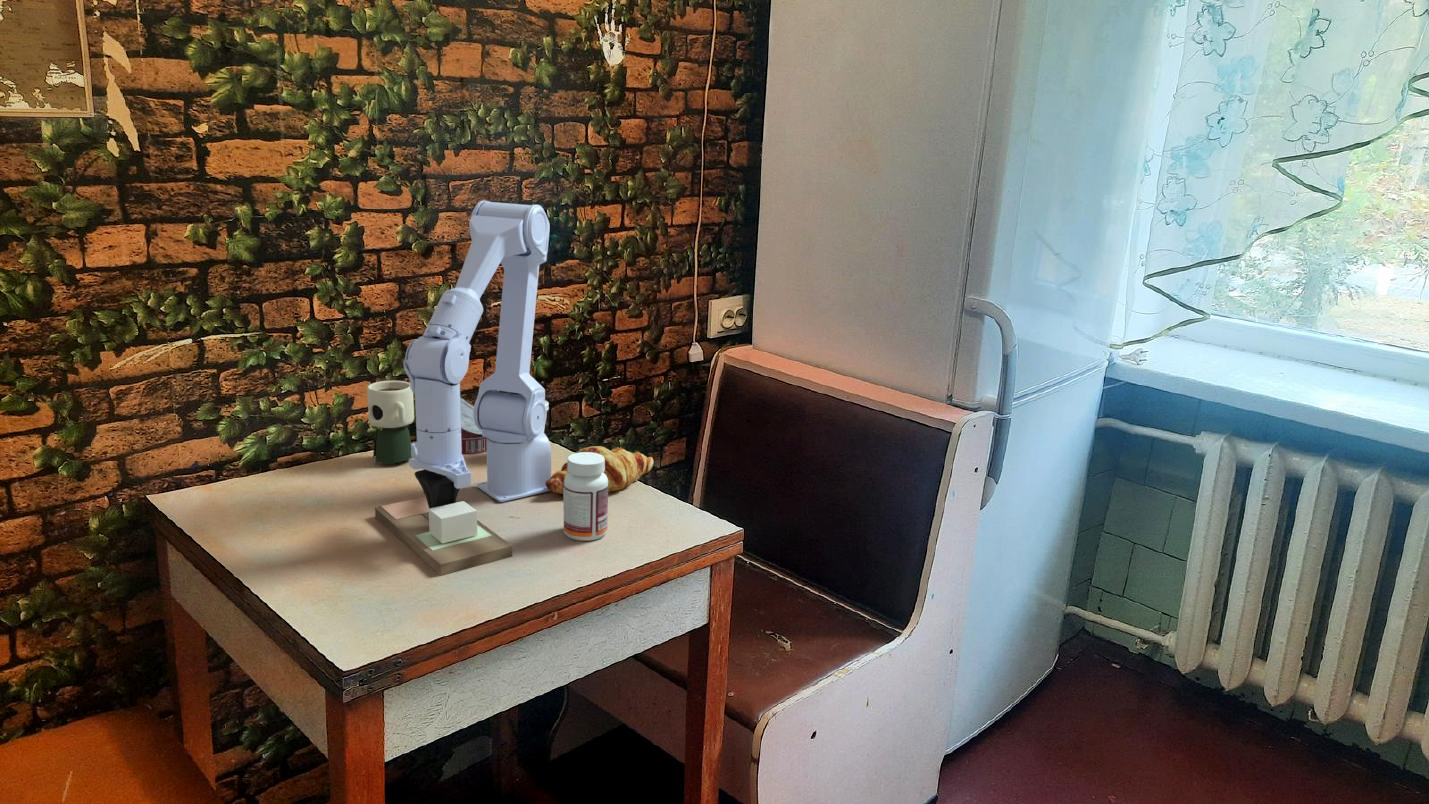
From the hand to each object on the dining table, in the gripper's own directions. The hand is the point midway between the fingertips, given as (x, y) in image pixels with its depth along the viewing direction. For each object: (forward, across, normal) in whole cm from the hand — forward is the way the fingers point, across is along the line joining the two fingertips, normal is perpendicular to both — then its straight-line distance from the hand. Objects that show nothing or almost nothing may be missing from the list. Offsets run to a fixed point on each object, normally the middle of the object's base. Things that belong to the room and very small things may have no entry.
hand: (441, 520), depth 129 cm
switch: (+2, 0, 0) cm, 2 cm away
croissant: (+3, -5, +29) cm, 30 cm away
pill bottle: (+3, +10, +17) cm, 20 cm away
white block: (+1, +4, 0) cm, 4 cm away
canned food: (+3, -33, +20) cm, 39 cm away
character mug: (+3, -32, +6) cm, 33 cm away
